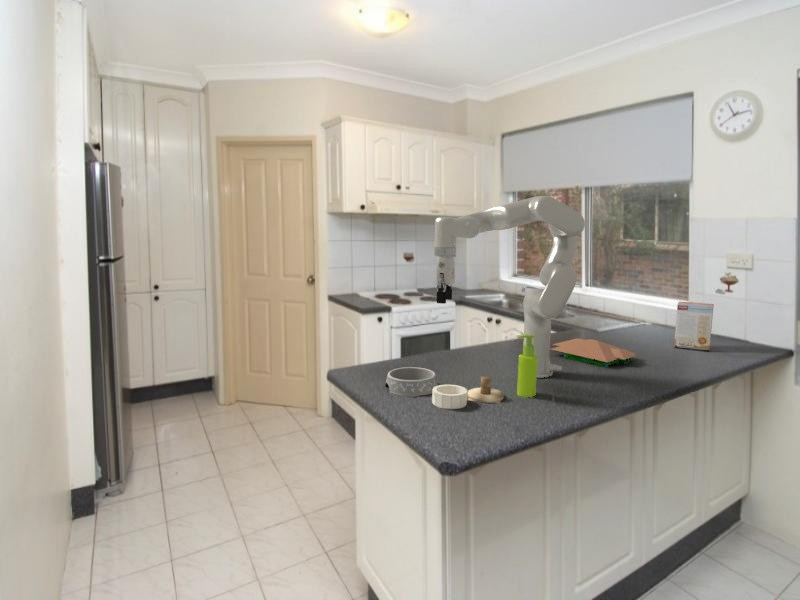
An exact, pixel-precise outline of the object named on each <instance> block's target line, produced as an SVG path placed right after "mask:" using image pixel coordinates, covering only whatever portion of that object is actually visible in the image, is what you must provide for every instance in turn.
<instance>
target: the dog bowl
mask: <svg viewBox="0 0 800 600" xmlns="http://www.w3.org/2000/svg"><path fill="white" fill-rule="evenodd" d="M386 375H387V376H386V380H385V385H384V387H387V385H388V388H389V394H391V393H393V394H392V395H394V394H396V395H395V396H398V395H400V397H405V396H408V397H407V398H418V397H419V396H425V395H432V389H433V388H434V387H435V386H438V385H439V384H438V379H437V375H436V373H435V371H433V370H431V369H428V368H425V367H424V368H423V367H418V366H417V367H415V366H408V367H407V366H404V367H399V368H394V369H391V370H390V371H388V373H387V374H386Z"/></svg>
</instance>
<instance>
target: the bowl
mask: <svg viewBox="0 0 800 600" xmlns="http://www.w3.org/2000/svg"><path fill="white" fill-rule="evenodd" d="M431 404H432V405H434V406H435V407H437V408H440V409H445V410H457V409H462V408H465V407H466V406H467V404H468V389H467V388H466V387H464V386H461V385H457V384H448V383H447V384H438V386H435V387H434V388H433V389H432V393H431Z"/></svg>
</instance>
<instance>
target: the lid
mask: <svg viewBox="0 0 800 600" xmlns="http://www.w3.org/2000/svg"><path fill="white" fill-rule="evenodd" d="M504 396H505V395H504V392H503V391H501V390H499V389H496V388H492V377H491V376H480V387H474V388H471V389H468V390H467V398H470V399H472V400H474V401H473V402H479V403H485V404H486V403H488V404H489V403H491V404H494V403H493V402H499V401H503V399H504Z"/></svg>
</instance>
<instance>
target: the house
mask: <svg viewBox="0 0 800 600" xmlns="http://www.w3.org/2000/svg"><path fill="white" fill-rule="evenodd" d="M552 346H554V347H553V348H550V350H552V351H554V352H560V353H562V352H563V356H564V357H568V356H569V357H568V359H571V357H572V359H573V361H574V360H575V361H578V360H579V358H580V357H581V358H580V361H582V362H585V363H586V360H585V359H588V361H589V363H592V364H593V363H594V365H601V363H602V366H603V367H604V366H605V367H609V366H608V365H611V364H612V363H617V364H618V363H619V362H620V363H623V361H624V363H627V362H629V361H630V360H631V361H632V359H633V358H634V357H637V356H638V355H637V352H635V351H630V350H628V349H624V348H621V347H618V346H615V345H612V344H609V343H607V342H604V341H600V340H596V339H591V338H589V339H585V338H573V339H569V340H564V341H561V342H555V343H552ZM570 356H571V357H570ZM632 357H633V358H632ZM584 358H585V359H584ZM629 358H630V360H629ZM594 359H595V361H593V360H594ZM618 359H619V360H618ZM626 359H628V361H627V362H626ZM596 360H597V361H596ZM614 360H615V361H614Z"/></svg>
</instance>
